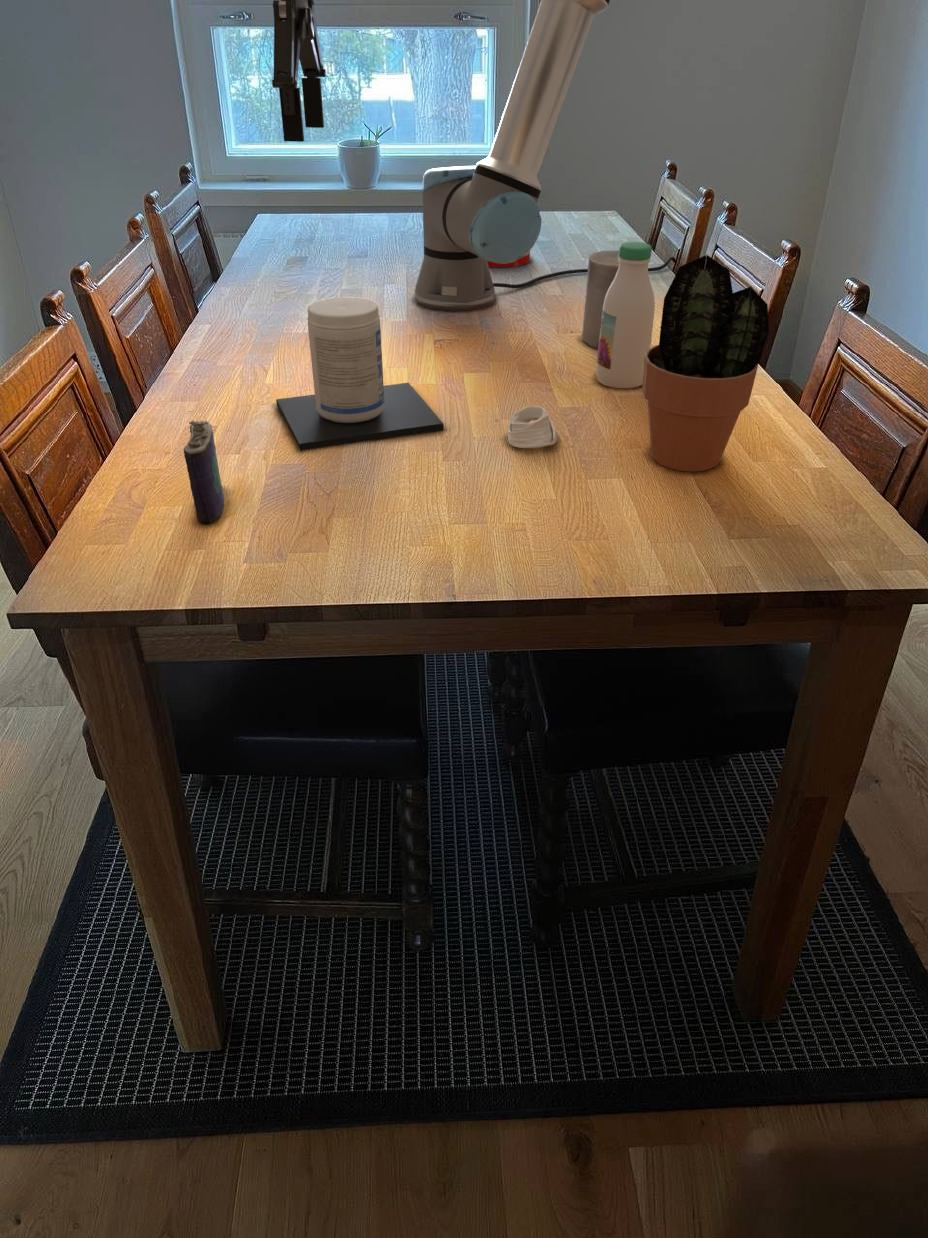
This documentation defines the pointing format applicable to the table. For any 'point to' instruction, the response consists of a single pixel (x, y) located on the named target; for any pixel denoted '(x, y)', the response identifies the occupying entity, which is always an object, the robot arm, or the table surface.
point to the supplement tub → (346, 358)
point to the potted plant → (702, 365)
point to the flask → (204, 473)
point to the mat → (396, 419)
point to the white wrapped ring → (531, 428)
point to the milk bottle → (627, 320)
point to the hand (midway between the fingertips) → (304, 134)
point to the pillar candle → (597, 292)
